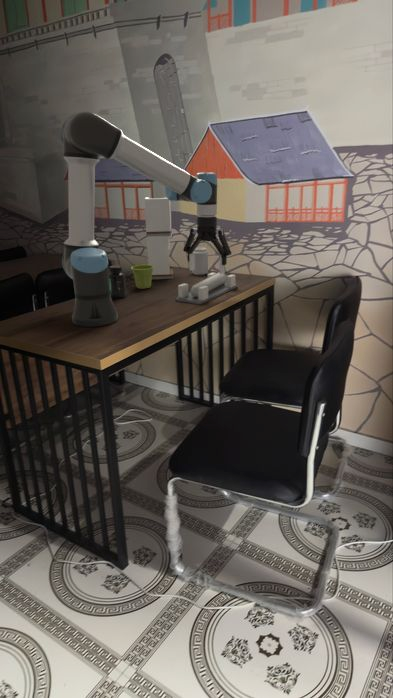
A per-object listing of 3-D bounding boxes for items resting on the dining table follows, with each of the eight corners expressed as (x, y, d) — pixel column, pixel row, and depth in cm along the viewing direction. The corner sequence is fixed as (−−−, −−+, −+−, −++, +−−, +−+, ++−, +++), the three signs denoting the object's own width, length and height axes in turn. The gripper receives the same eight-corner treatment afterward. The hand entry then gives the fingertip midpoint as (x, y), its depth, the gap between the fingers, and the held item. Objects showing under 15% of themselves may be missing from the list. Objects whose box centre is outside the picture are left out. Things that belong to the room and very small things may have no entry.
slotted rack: (175, 300, 189) (175, 286, 187) (214, 284, 212) (214, 271, 210) (200, 304, 183) (199, 289, 181) (237, 287, 207) (237, 273, 205)
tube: (202, 289, 184) (228, 274, 205) (189, 283, 186) (217, 270, 206) (198, 301, 187) (225, 286, 207) (186, 296, 188) (214, 281, 209)
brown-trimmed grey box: (172, 278, 224) (169, 198, 212) (149, 279, 224) (144, 198, 211) (173, 273, 235) (170, 196, 222) (150, 274, 235) (146, 197, 222)
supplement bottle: (109, 299, 193) (106, 268, 189) (108, 294, 199) (106, 265, 195) (126, 297, 194) (124, 267, 190) (125, 293, 201) (123, 264, 196)
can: (192, 272, 236) (192, 247, 232) (208, 272, 236) (208, 246, 231) (191, 275, 229) (191, 249, 225) (208, 275, 229) (207, 249, 224)
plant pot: (151, 290, 205) (150, 269, 202) (129, 289, 207) (128, 269, 204) (157, 284, 214) (156, 264, 211) (136, 284, 215) (135, 264, 212)
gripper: (240, 216, 184) (239, 273, 191) (184, 213, 196) (185, 266, 203) (231, 218, 178) (230, 276, 185) (174, 215, 190) (175, 270, 197)
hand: (206, 271), depth 194 cm, fingers open, 13 cm apart
